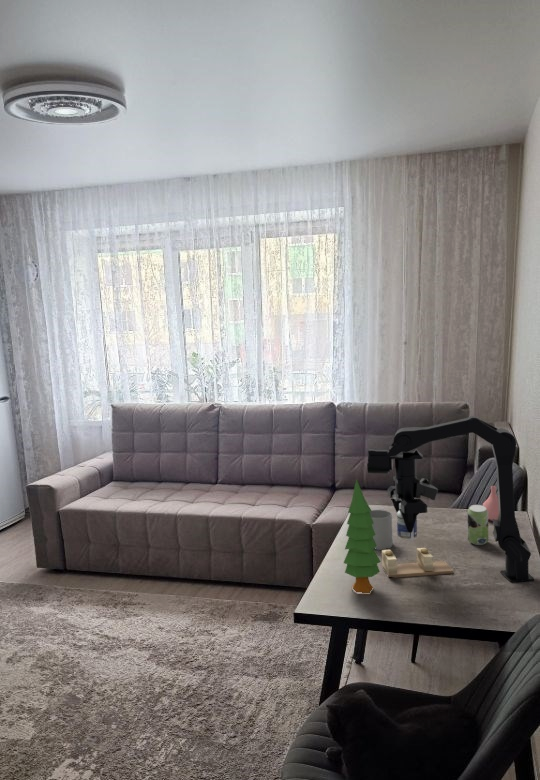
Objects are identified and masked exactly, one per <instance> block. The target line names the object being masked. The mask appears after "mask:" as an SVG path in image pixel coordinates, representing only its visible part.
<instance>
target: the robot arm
mask: <svg viewBox="0 0 540 780" xmlns="http://www.w3.org/2000/svg"><path fill="white" fill-rule="evenodd" d="M471 433H473V434H475V435H476V436H478V437H480V438H481V439H483V440H484V441H486V442H487V443H489V444H490V445H491V449H492V453H493V456H494V459H495V460H494V461H495V465H496V478H497V481H496V482H497V496H498V500H499V516H498V520H495V519H492V520H493V521H492V523H493V531H492V534H493V537H494V540H495V542H497V544H498V546H499V548H500V549H501V550H502V551H503V552H505V553H504V555H505V556H504V559H505V561H504V562H505V563H504V565H505V569H502V570H500V571H499V573H500V574H501V575H502V576H503V577H504V578H506V579H507V580H508V581H509V582H511V583H516V582H517V583H518V582H528V581H529V582H530V581H535V577H534V576H533V575H531V574H530V573H529V560H530V557H531V555H532V553H531V551H530V548H529V547H528V544H527V542H526V540H524V539H523V538H522V537H521V533H520V529H519V526H518V522H517V519H516V512H515V511H516V510H515V507H516V506H515V493H514V492H515V491H514V474H513V471H514V470H513V464H514V460H515V457H516V450H517V449H516V448H517V440H516V437H515V436H514V434H512V432H511V431H510V430H508V429H506V428H503V427H502V428H497V427H496V426H494V425H492V424H490V423H488V422H486V421H484V420H482V419H480V417H478V416H475V415H470V416H468V417H465V418H462V419H457V420H452V421H448V422H447V421H446V422H444V423H443V422H442V423H439V424H434V425H431V426H425V427H417V426H413V427H401V428H399V429H397V431H396V432H395V435H394V438H393V442H392V444H391V445H389V447H388V449H374V448H373V449H371V448H369V449H368V451H367V453H368V455H367V462H366V465H367V467H366V468H367V474H368V475H369V474H370V475H379V474H380V475H389V474H390V472H391V471H393V468H394V475H393V482H395V485H390V486H389V487H388V488H387V496H388V497H389V498H391V499H390V502H391V503H392V507H393V509H395V512H396V513H397V512H398V511H399V510H400V513H401V515H402V518H403V521H404V523H405V526H406V528H407V531H408V532H409V533H411V532H412V531H413V528H414V524H415V520H416V517H417V518H418V515H420V514H426V513H428V504H426V503H425V502H424V501H423V500H422V499H421V497H425V498H427V499H430V500H432V501H435V500H436V498H437V494H438V493H439V489H438V488H437V487H436V486H435V485H433V484H430V480H428V479H427V478H424V477H422V478H420V479H419V478H418V477H417V460H423V457H424V456H423V455H424V454H423V453H421V452H420V451H419V450H418V449H417V448H420V447H422V446H424V445H425V444H427V443H430V442H435V441H439V440H445V439H448V438H453V437H458V436H462V435H467V434H471ZM413 450H414V451H413ZM401 453H402V454H401ZM393 460H394V461H393ZM393 462H394V463H393ZM393 464H394V465H393ZM399 503H401V509H399Z"/></svg>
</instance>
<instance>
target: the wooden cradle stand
mask: <svg viewBox="0 0 540 780" xmlns="http://www.w3.org/2000/svg"><path fill="white" fill-rule="evenodd" d="M381 564H382V565H381V568H382V567H383V568H382V570H383V569H384V570H385V571H384V570H383V571H384V573H385V572H386V573H385V574H386V576H387V575H388V576H387V578H388V577H395V578H406V577H407V578H408V577H419V576H420V577H421V576H435V575H447V574H448V575H449V574H450V575H451V574H454V570H453V569H452V568H451V566H450V565H449V564H448V563H447V562H446V561H445V560H435V561H434V560H433V571H424V570H423V569H422V567H421V566H420V565H419V564H418V562H408V563H407V562H405V563H398V559H397V558H396V555H395V554H394V553H393V551H392V550H391V549H381Z"/></svg>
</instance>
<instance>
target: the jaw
mask: <svg viewBox="0 0 540 780" xmlns="http://www.w3.org/2000/svg"><path fill="white" fill-rule="evenodd" d="M433 558H434V556H433V555H432V554H431V553H430V552H429V549H428V548H426V547H416V563H418V564H419V565H420V566H421V567H422V569H423V570H424V571H433V561H434V560H433Z"/></svg>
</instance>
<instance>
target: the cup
mask: <svg viewBox="0 0 540 780" xmlns="http://www.w3.org/2000/svg"><path fill="white" fill-rule="evenodd" d="M371 510H372V509H371ZM369 512H370V515H371V517H372V520H373V522H374V523H373V524H372V527H373V529H374V532H375V534H376V535H375V536H373V539H374V541H375V543H376V545H377V546H376V547H375V548H376V549H375V550H387V549H386V548H388V549H391V548H392V547H393V545H394V542H393V541H394V538H393V536H394V535H393V513H391V512H390V511H387V510H384V509H373V510H372V511H369Z"/></svg>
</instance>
